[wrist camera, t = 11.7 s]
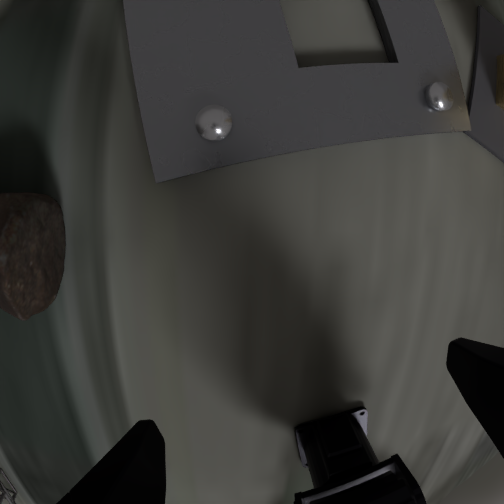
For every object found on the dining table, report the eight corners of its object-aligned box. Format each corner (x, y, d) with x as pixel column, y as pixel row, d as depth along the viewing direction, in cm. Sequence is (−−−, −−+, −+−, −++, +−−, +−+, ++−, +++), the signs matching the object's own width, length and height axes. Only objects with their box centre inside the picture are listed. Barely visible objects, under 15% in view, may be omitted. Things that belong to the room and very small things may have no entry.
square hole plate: (461, 131, 19) (478, 130, 17) (160, 182, 19) (152, 184, 17) (399, -51, 15) (409, -61, 13) (123, -32, 14) (116, -45, 12)
